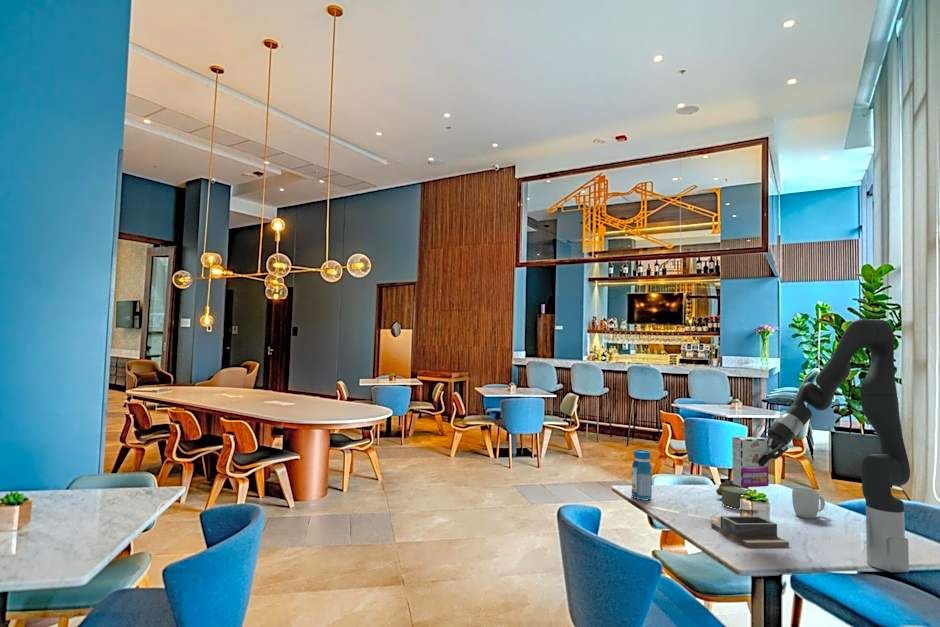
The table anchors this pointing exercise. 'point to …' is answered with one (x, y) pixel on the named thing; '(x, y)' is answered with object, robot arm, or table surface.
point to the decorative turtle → (726, 483)
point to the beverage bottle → (641, 475)
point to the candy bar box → (749, 461)
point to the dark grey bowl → (733, 495)
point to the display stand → (750, 531)
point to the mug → (807, 502)
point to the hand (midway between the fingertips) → (754, 462)
